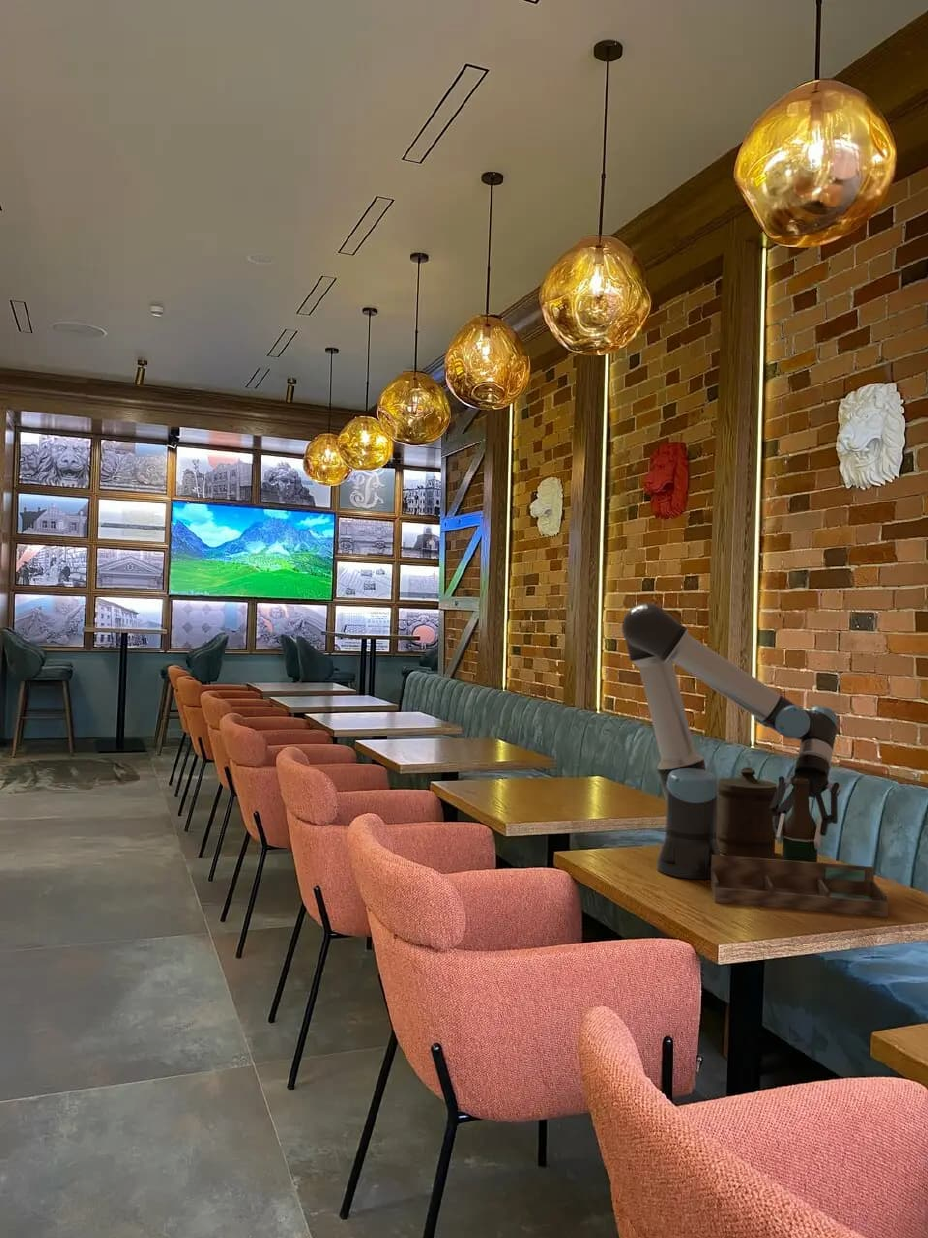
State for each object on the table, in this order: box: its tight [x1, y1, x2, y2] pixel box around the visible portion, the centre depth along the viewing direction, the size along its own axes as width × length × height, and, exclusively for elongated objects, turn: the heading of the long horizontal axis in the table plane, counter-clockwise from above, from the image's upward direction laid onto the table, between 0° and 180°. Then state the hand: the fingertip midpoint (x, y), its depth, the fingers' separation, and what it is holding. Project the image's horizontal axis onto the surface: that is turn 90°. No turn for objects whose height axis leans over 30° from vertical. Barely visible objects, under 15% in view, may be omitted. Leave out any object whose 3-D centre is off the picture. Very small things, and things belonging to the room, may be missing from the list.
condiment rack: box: [710, 854, 889, 918], centre depth 199 cm, size 34×13×7 cm, turn 79°
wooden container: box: [716, 766, 778, 859], centre depth 243 cm, size 15×15×22 cm
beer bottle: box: [781, 778, 818, 863], centre depth 212 cm, size 8×8×24 cm
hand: (797, 843), depth 209 cm, fingers closed on beer bottle, 7 cm apart
